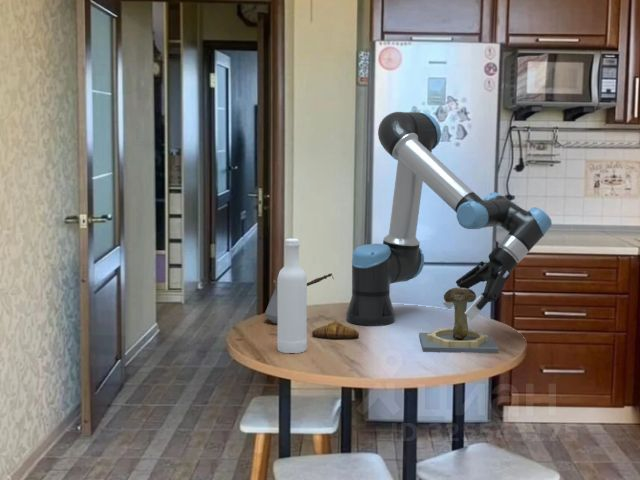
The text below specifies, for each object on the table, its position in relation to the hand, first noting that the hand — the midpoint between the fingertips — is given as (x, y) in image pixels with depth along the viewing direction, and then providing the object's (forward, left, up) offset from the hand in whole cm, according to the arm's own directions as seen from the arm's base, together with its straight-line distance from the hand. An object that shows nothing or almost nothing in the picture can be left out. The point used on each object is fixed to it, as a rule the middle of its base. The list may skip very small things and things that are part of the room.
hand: (456, 311), depth 216 cm
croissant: (-34, +6, -10) cm, 35 cm away
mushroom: (+1, 0, -8) cm, 9 cm away
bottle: (-45, -9, -10) cm, 46 cm away
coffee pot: (-46, +24, -10) cm, 52 cm away
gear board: (0, 0, -9) cm, 9 cm away
